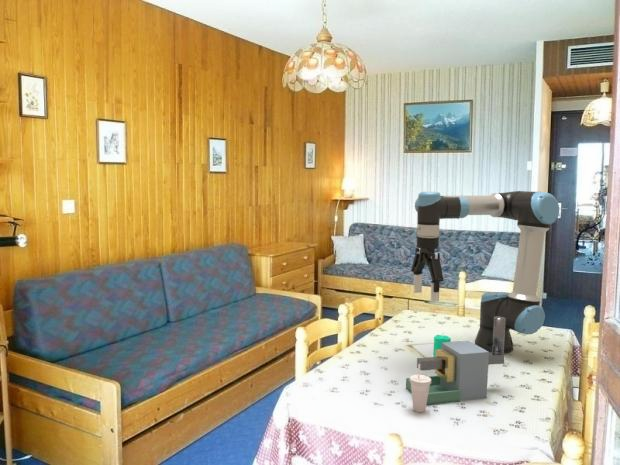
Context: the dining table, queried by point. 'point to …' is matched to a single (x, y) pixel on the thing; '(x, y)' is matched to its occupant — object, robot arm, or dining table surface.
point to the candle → (440, 342)
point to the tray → (437, 392)
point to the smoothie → (420, 391)
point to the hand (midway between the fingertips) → (425, 296)
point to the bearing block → (468, 369)
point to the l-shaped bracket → (494, 356)
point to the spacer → (446, 366)
